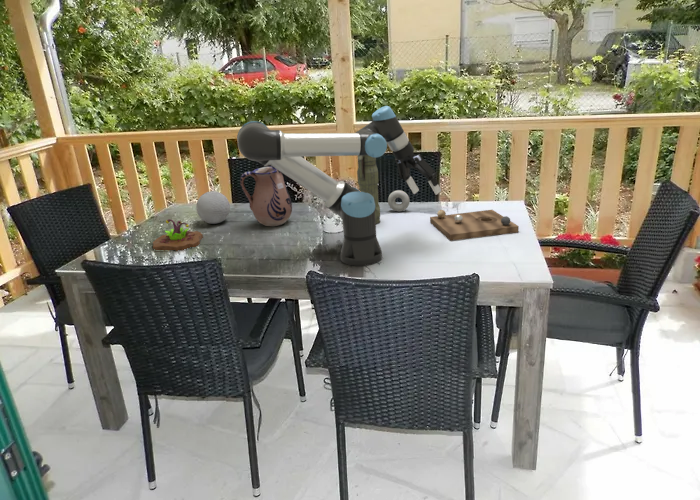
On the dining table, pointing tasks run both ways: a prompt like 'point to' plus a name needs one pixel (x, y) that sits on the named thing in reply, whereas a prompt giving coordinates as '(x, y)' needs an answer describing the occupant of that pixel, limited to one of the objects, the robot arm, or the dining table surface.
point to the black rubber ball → (505, 220)
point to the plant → (177, 238)
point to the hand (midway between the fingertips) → (427, 192)
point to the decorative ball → (213, 207)
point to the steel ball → (458, 218)
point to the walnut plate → (473, 225)
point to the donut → (394, 205)
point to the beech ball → (441, 213)
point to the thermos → (369, 180)
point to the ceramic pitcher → (268, 196)
